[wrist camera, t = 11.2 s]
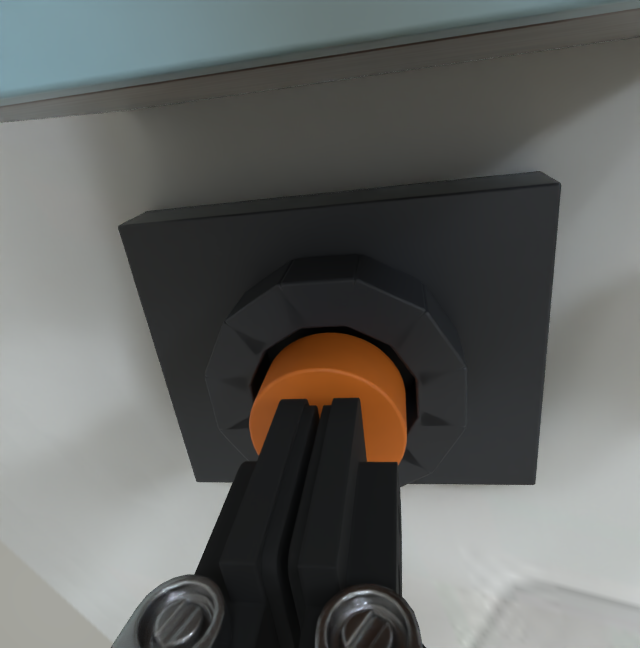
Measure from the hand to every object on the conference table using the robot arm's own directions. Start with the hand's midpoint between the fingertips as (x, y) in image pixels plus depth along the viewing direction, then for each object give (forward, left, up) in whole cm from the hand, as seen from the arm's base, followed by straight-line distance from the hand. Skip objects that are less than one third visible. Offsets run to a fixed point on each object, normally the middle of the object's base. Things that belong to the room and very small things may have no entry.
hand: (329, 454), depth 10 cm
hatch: (+2, +14, +3) cm, 15 cm away
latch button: (0, 0, -2) cm, 2 cm away
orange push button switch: (0, 0, -5) cm, 5 cm away
